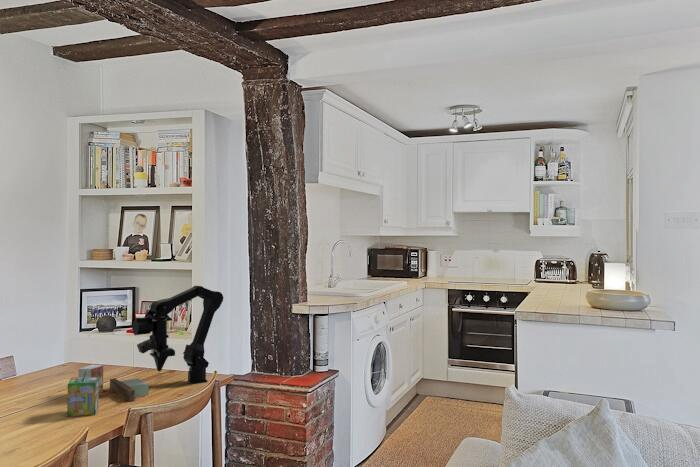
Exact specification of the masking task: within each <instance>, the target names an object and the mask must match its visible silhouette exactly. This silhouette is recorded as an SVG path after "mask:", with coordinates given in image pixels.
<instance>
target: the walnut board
mask: <svg viewBox="0 0 700 467" xmlns="http://www.w3.org/2000/svg"><path fill="white" fill-rule="evenodd" d="M109 389H110V390H111V391H112V392H114V393H115V394H117V395H119V396H120V397H121V398H123V399H124V400H126V401H128V403H129V402H130V403H131V402H135V398H136V397H135V390H133V389H132V388H130V387H129V386H127V385H125V384H124V383H122V382H121V380H119V379H117V378H116V377H115V378H114V377H113V378H109Z"/></svg>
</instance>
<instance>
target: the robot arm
mask: <svg viewBox="0 0 700 467" xmlns="http://www.w3.org/2000/svg"><path fill="white" fill-rule="evenodd" d="M197 297H199V298H200V299H202V305H203V311H202V313H201V316H200V319H199V321H198V322H199V323H198V324H197V328H196V331H195V335H194V337H193V338H192V342H191V343H190V344H185V348H184V350H183V352H182V355H183V360H184V362H185V363H186V365H187V367H189V368H188V371H187V382H188V383H191V384H193V385H194V384H200V383H201V384H202V383H207V382H208V381H209V380H208V379H207V368H208V367H209V365H210V362H209V361H208V360H207V359H205V342H206V340H207V336H208V334H209V330H210V328H211V324H212V322H213V318H214V315H215V313H216V312H217V311H218V309H220V307H221V305H222V303H224V302H223V301H224V295H223V293H222V292H220V291H215V290H211V289H208V288H205V287H203V286H201V285H194V286H192V287H191V288H188V289H186V290H184V291H182V292H179V293H178V294H175V295H173V296H171V297H169V298H164V299H158V300H156V301H152V303H151V304H150V306H149V309H148V311H147V312H146V314H145V315H144V317H135V318H134V321H133V323H132V326H131V330H132V334H133V335H134V336H140V335H141V336H142V335H149V334H150V335H149V339H146V340H144V341H141V342H139V343H137V344H136V346H137V349H138V352H139V353H140V354H145V353H147V352H149V351H150V353H148V354H149V355H150V356H151V357H152V358H153V359H154V364H155V367H156V370H157V371H158V372H161V371H162V370H163V368H164V365H165V363H166V361H167V359H168V357H174V356H176V350H175V349H173V348H172V347H169V345H168V340H167V339H168V338H169V337H170V336H169V334H168V322H169V321H170V322H171V321H172V320H173V318H171V317H170V315H169V314H170V313H171V312H172V311H173V310H174V309H175V308H177V307H179V306H181V305H182V304H185V303H187V302H189V301H191V300H193V299H195V298H197Z"/></svg>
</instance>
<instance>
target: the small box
mask: <svg viewBox="0 0 700 467" xmlns="http://www.w3.org/2000/svg"><path fill="white" fill-rule="evenodd" d="M87 369H88V370H87ZM86 370H87V374H86V377H98V376H99V393H98V394H100V393H102V392H104V365H102V364H90V365H87V366H84V367H80V368H78V377H84V374H85V371H86Z"/></svg>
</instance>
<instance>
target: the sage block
mask: <svg viewBox="0 0 700 467" xmlns="http://www.w3.org/2000/svg"><path fill="white" fill-rule="evenodd" d="M120 382H122V383H124V384H125V385H127V386H129V387H130V388H132V389H133V390H135V398H138V397H145V396H149V384H148V383H147V382H145V381H144V380H142V379H141V378H139V377H138V378H133V379H126V380H125V379H124V380H120Z"/></svg>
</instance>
